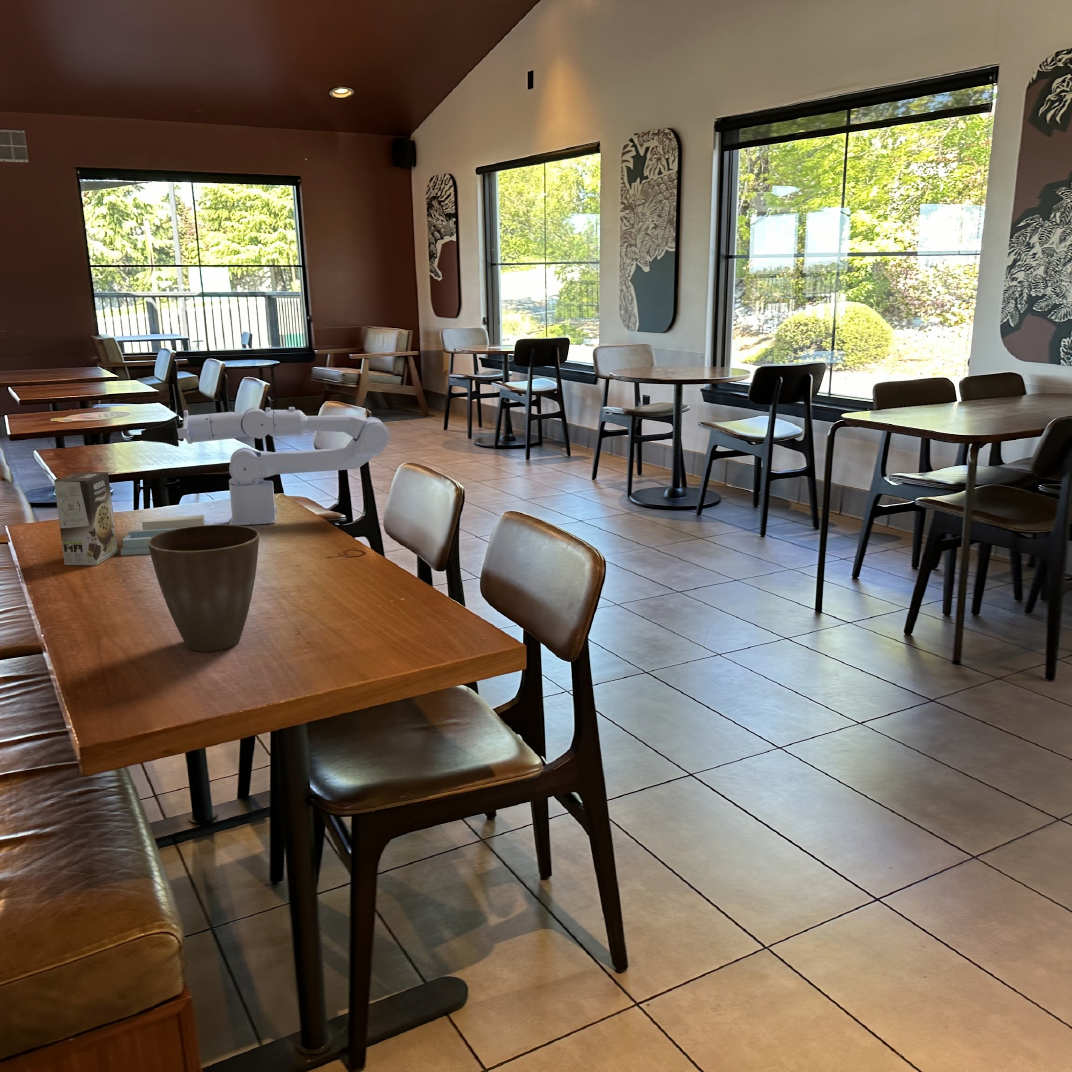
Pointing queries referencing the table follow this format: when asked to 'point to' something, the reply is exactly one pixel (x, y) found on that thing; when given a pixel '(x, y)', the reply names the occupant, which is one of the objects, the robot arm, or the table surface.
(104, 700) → the table surface
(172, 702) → the table surface
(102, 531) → the food box
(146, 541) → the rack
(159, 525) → the beige rectangular block
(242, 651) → the table surface
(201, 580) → the plant pot
